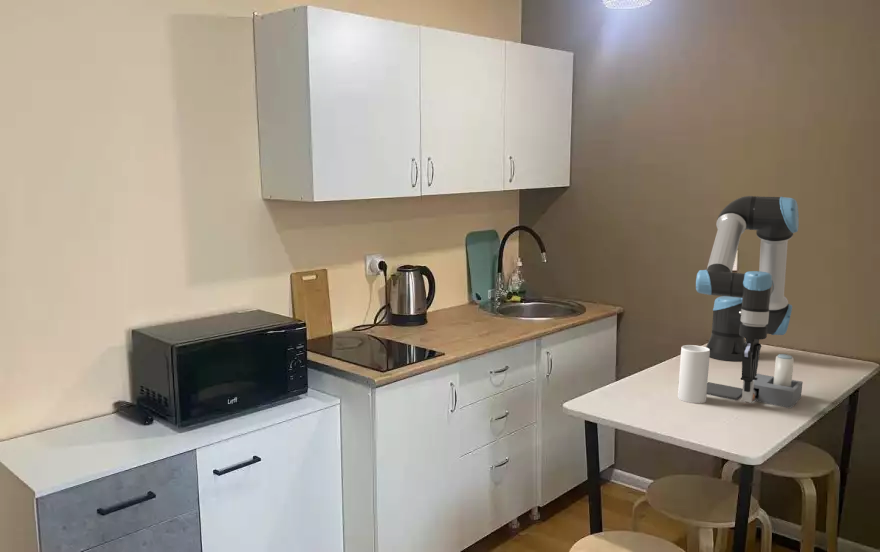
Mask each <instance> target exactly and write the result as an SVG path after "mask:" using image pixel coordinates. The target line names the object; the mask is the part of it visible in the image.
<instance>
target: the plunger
mask: <svg viewBox="0 0 880 552" xmlns="http://www.w3.org/2000/svg"><path fill="white" fill-rule="evenodd" d="M758 393H759V389H757V388H754V389H753V400H752V402H751V403H753V402H755V401H754V399H755V396H756V395H757V394H758ZM745 403H746V404H751V403H750V402H745Z"/></svg>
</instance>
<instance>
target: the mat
mask: <svg viewBox="0 0 880 552" xmlns="http://www.w3.org/2000/svg"><path fill="white" fill-rule="evenodd" d="M742 391H743V387H736V386H731V385H726V384H721V383H715V382H708V381H707V394H706V395H708V396H714V397H718V398H724V399H727V400H732V401H733V400H734V401H737V400H738V399H740V398H741V397H742Z"/></svg>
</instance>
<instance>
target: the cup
mask: <svg viewBox="0 0 880 552" xmlns="http://www.w3.org/2000/svg"><path fill="white" fill-rule="evenodd" d="M709 356H710V349H709V348H706V346H702V345H695V344H686V345H682V346H681V350H680V359H679V360H680V361H679V372H678V373H679V374H678V389H677V391H678V392H677V399H679V401H682V402H685V403H689V404H703V403H706V402H707V395H708V394H707V383H708V381H709V379H708V378H709V367H710V357H709Z"/></svg>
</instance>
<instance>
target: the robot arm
mask: <svg viewBox="0 0 880 552" xmlns="http://www.w3.org/2000/svg"><path fill="white" fill-rule="evenodd" d="M799 218H800V216H799V205H798V202H797V200H796V199H795V198H792V197H784V196H761V195H760V196H758V195H757V196H756V195H754V196H753V195H746V196H741V197H738V198H736V199H734V200H732V201H731V202H730V203H728V204H727V205H726V206H724V208H723V209H722V210H721V211H720V213H719V215H718V217H717V218H716V223H715V224H716V229H717V231H716V234H715V239H714V241H713V245H712V249H711V252H710V256H709V259H708V263H707V268H706V269H700V270H698V272H697V273H696V278H695V290H696V292H697V293H698V294H701V295H708V296H717V297H716V298H715V299H714V301H713V303H714V304H713V308H712V311H713V313H712V326H711V333H710V337H709V339H708V342H707V344H706V346H705V347H706V348H709V349H710V356H709V358H712V359H715V360H721V361H729V362H730V361H731V362H741V377H740V380H741V381H742V389H743V391H742V396H741V402H744V403H746V402H750V403H749V404H751V403H753V402H752V400H753V389H754V380H757V378H755V376H756V375H757V374H758V367H759V359H760V352H761V348H762V344H761V343H760V340H765V339H767V336H768V335H771V336H774V335H775V336H784V335H785V334H786V333H787V331H788V329H789V325H790V320H791V315H792V311H793V305H792V304H790V303H789V300H788V298H787V297H786V296H785V286H786V274H787V273H786V271H787V269H786V268H787V257H788V242H789V240H791V239H792V238H793V237H794V234H795V233H798V231H799V225H800V223H799ZM746 230H748V231H750V230H751V231H756V232H755V234H756V237H757V238H758V239H760V245H759V246H760V250H759V264H758V265H759V266H758V267H759V269H758V270H751V271H746V272H745V273H744V272H743V273H740V272H733V269H734V266H735V265H734V264H735V261H736V257H737V254H738V253H737V251H738V249H739V245H740V240H741V236H742V235H743V234H744V233H745V231H746Z"/></svg>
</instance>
